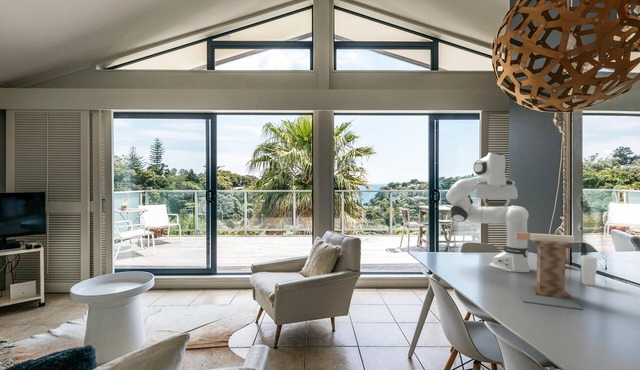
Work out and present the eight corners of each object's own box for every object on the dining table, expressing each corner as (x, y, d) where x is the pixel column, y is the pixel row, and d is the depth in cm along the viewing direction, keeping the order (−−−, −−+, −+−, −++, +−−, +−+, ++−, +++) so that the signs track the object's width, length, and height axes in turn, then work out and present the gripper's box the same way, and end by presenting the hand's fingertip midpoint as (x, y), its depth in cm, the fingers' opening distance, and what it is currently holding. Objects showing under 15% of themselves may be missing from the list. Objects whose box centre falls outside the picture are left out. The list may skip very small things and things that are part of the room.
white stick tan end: (516, 239, 168) (516, 232, 168) (515, 238, 171) (515, 231, 171) (574, 243, 158) (574, 236, 158) (572, 241, 161) (572, 235, 161)
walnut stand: (535, 295, 161) (536, 241, 161) (531, 287, 172) (532, 237, 172) (570, 299, 156) (572, 244, 155) (563, 291, 167) (564, 240, 166)
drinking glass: (599, 287, 174) (600, 258, 174) (584, 286, 175) (585, 257, 175) (591, 282, 181) (592, 255, 180) (577, 282, 182) (578, 254, 182)
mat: (523, 302, 152) (523, 300, 152) (519, 294, 163) (519, 293, 163) (582, 309, 144) (582, 308, 144) (574, 301, 154) (574, 300, 154)
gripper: (475, 181, 182) (475, 207, 183) (518, 181, 174) (518, 208, 174) (474, 181, 188) (474, 206, 188) (516, 181, 180) (516, 207, 180)
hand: (496, 207), depth 181 cm, fingers open, 8 cm apart
